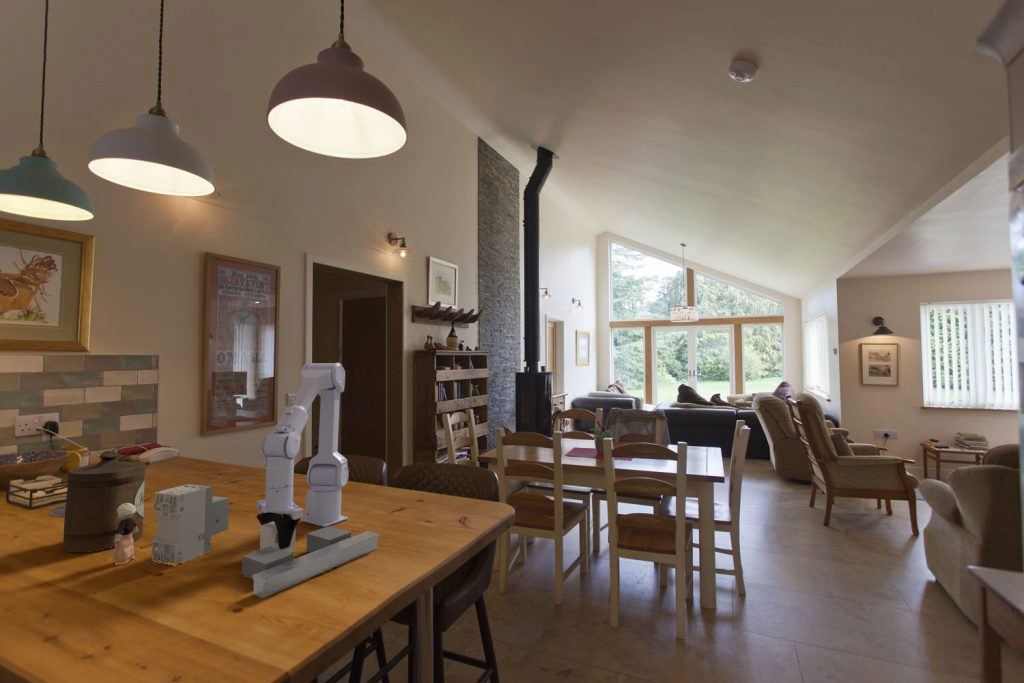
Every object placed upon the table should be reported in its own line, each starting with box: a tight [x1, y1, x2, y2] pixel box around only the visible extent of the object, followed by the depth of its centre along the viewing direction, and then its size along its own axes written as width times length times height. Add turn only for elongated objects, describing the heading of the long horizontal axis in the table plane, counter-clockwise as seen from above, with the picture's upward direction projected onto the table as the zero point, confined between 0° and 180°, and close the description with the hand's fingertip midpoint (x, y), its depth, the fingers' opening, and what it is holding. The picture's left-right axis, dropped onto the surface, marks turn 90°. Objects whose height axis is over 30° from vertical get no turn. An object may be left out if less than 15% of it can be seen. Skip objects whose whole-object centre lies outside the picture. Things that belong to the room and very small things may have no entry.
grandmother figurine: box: [112, 503, 138, 563], centre depth 104 cm, size 8×4×13 cm, turn 23°
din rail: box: [252, 530, 380, 600], centre depth 100 cm, size 4×28×4 cm, turn 149°
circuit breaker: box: [150, 483, 231, 565], centre depth 110 cm, size 8×14×15 cm, turn 161°
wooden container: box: [62, 450, 146, 553], centre depth 117 cm, size 15×15×22 cm
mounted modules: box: [241, 525, 352, 581], centre depth 104 cm, size 8×21×4 cm, turn 149°
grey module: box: [259, 522, 297, 554], centre depth 108 cm, size 4×6×7 cm
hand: (278, 545), depth 108 cm, fingers closed on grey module, 4 cm apart
